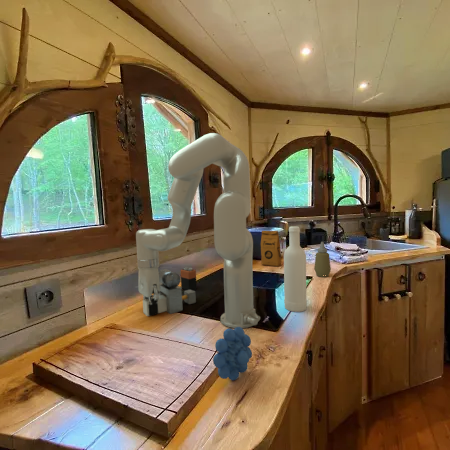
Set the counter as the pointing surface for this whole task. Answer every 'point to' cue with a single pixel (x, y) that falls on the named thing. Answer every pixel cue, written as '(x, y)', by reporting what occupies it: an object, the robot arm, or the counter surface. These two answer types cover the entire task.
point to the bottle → (295, 273)
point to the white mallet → (162, 301)
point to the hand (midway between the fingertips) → (151, 311)
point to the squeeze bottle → (322, 262)
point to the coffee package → (270, 248)
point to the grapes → (232, 353)
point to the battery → (188, 279)
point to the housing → (171, 290)
